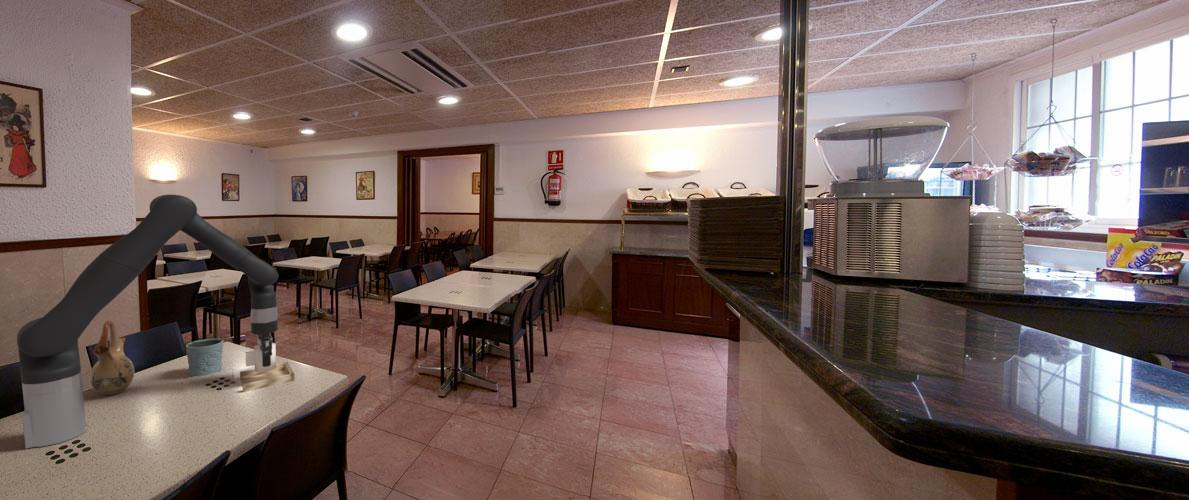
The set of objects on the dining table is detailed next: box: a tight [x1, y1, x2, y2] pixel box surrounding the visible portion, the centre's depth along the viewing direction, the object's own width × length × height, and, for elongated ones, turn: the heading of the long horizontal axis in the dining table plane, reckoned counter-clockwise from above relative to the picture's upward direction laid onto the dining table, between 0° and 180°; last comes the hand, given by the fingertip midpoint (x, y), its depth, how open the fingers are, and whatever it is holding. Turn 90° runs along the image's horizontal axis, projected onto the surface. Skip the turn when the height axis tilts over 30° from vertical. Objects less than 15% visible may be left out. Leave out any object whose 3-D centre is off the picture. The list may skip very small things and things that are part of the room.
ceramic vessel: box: [89, 320, 135, 396], centre depth 128 cm, size 16×9×25 cm, turn 37°
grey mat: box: [232, 366, 255, 381], centre depth 147 cm, size 10×10×1 cm
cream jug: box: [245, 342, 277, 372], centre depth 140 cm, size 8×6×9 cm
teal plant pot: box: [185, 338, 224, 378], centre depth 146 cm, size 10×10×12 cm
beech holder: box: [239, 361, 295, 393], centre depth 142 cm, size 14×15×3 cm
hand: (265, 363), depth 141 cm, fingers closed on cream jug, 6 cm apart
